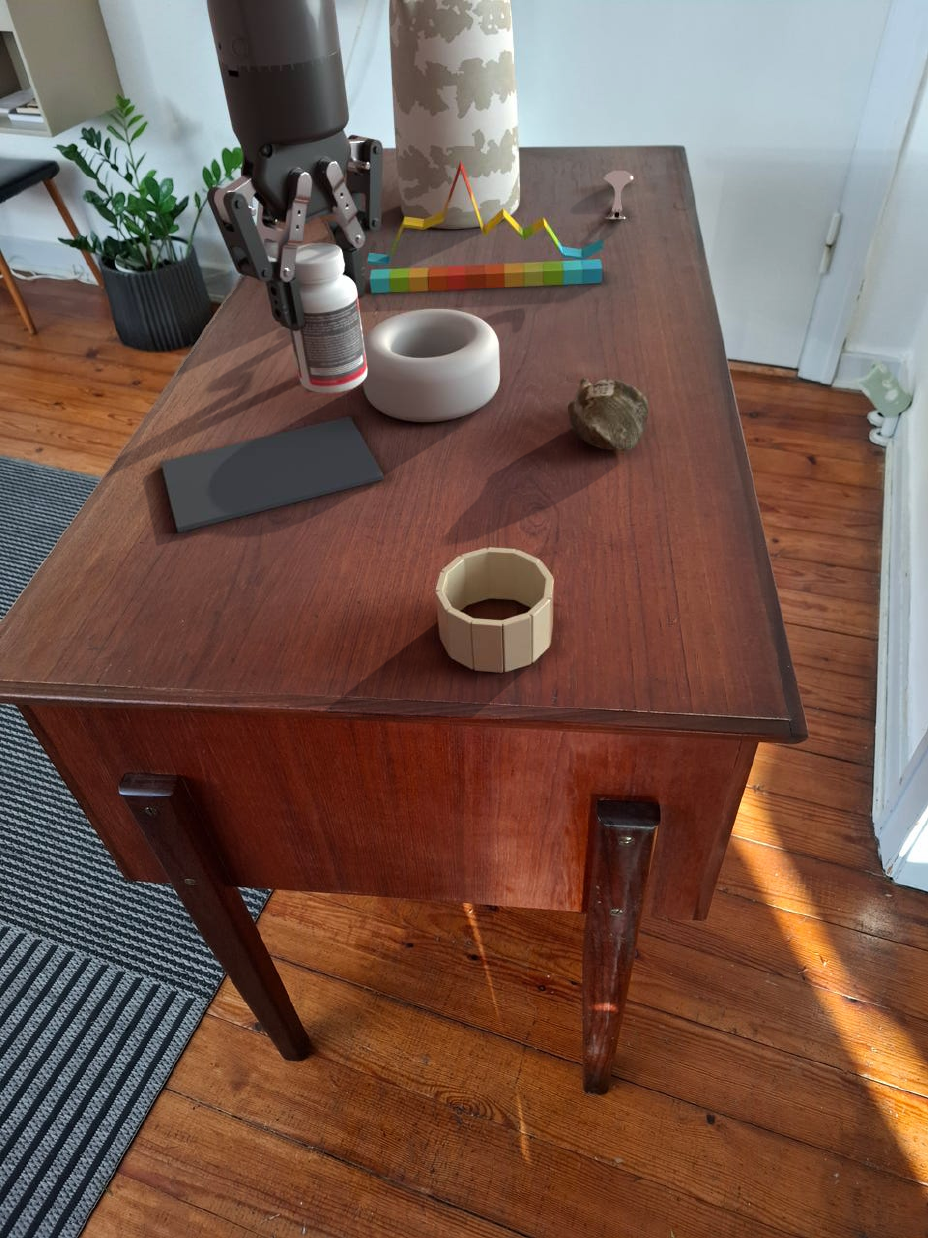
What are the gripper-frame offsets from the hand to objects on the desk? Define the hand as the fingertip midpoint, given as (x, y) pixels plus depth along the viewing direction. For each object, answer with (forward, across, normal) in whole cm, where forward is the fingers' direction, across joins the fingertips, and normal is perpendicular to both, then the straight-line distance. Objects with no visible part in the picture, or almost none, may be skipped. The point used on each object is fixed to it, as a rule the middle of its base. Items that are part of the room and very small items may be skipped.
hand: (322, 310), depth 66 cm
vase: (+21, -67, -46) cm, 84 cm away
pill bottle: (+6, 0, 0) cm, 6 cm away
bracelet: (+21, +2, +17) cm, 28 cm away
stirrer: (+21, -81, -25) cm, 88 cm away
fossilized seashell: (+21, -27, +8) cm, 35 cm away
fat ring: (+21, -23, -12) cm, 34 cm away
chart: (+21, -49, -25) cm, 59 cm away
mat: (+21, -2, -15) cm, 26 cm away
